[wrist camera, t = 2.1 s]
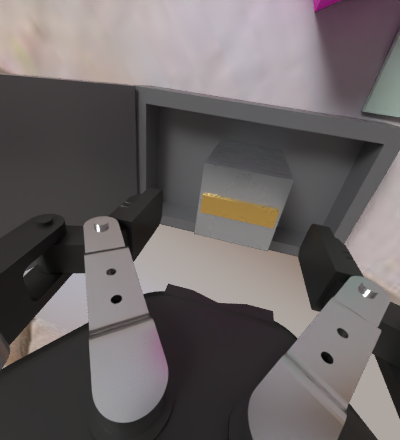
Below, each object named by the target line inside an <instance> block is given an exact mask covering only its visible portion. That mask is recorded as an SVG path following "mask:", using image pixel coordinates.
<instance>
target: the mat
mask: <svg viewBox="0 0 400 440" xmlns="http://www.w3.org/2000/svg"><path fill="white" fill-rule="evenodd" d="M362 112H368V113H374V114H381V115H387V116H394V117H400V29H399V31H398V33H397V35H396V38H395V40H394V42H393V44H392V46H391V48H390V51H389V53H388V55H387V57H386V59H385V61H384V64H383V66H382V68H381V70H380V72H379V74H378V76H377V79H376V81H375V83H374V85H373V87H372V89H371V92H370V94H369V96H368V98H367V100H366V102H365V105H364V107H363V109H362Z"/></svg>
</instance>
